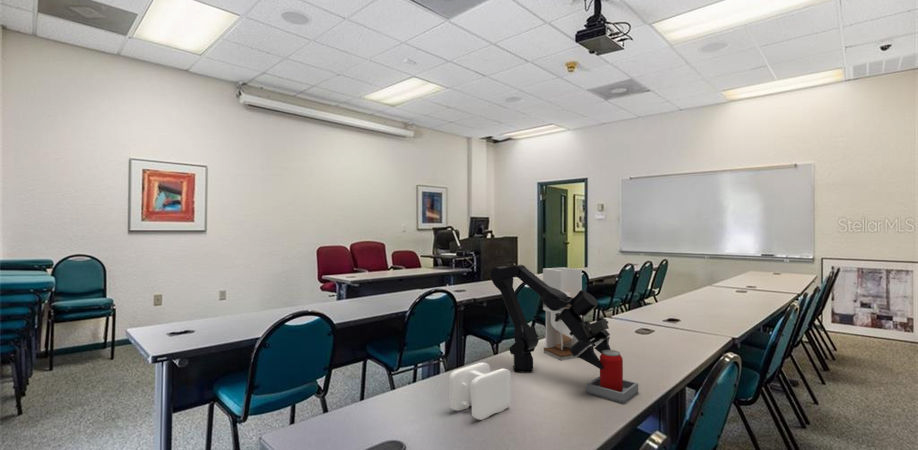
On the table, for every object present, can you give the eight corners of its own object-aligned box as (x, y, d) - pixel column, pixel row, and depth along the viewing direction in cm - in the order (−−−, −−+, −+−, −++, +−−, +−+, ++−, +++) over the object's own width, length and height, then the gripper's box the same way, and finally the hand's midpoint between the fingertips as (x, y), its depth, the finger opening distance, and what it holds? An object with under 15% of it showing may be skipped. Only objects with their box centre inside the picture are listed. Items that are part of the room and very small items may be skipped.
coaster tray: (586, 393, 130) (586, 384, 130) (602, 383, 138) (602, 374, 138) (623, 404, 122) (623, 394, 122) (638, 392, 130) (638, 383, 130)
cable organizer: (473, 425, 110) (473, 381, 110) (447, 412, 118) (447, 370, 118) (511, 408, 120) (511, 368, 120) (485, 397, 127) (484, 359, 128)
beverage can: (618, 386, 133) (618, 349, 133) (626, 395, 127) (625, 355, 127) (597, 386, 134) (596, 349, 134) (603, 394, 127) (603, 355, 127)
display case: (543, 352, 173) (542, 268, 173) (564, 349, 178) (563, 267, 178) (561, 360, 163) (560, 271, 163) (582, 356, 167) (581, 269, 168)
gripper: (579, 314, 128) (615, 357, 120) (604, 305, 142) (637, 344, 134) (556, 335, 133) (589, 378, 125) (582, 325, 147) (613, 363, 139)
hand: (608, 365), depth 131 cm, fingers open, 9 cm apart
